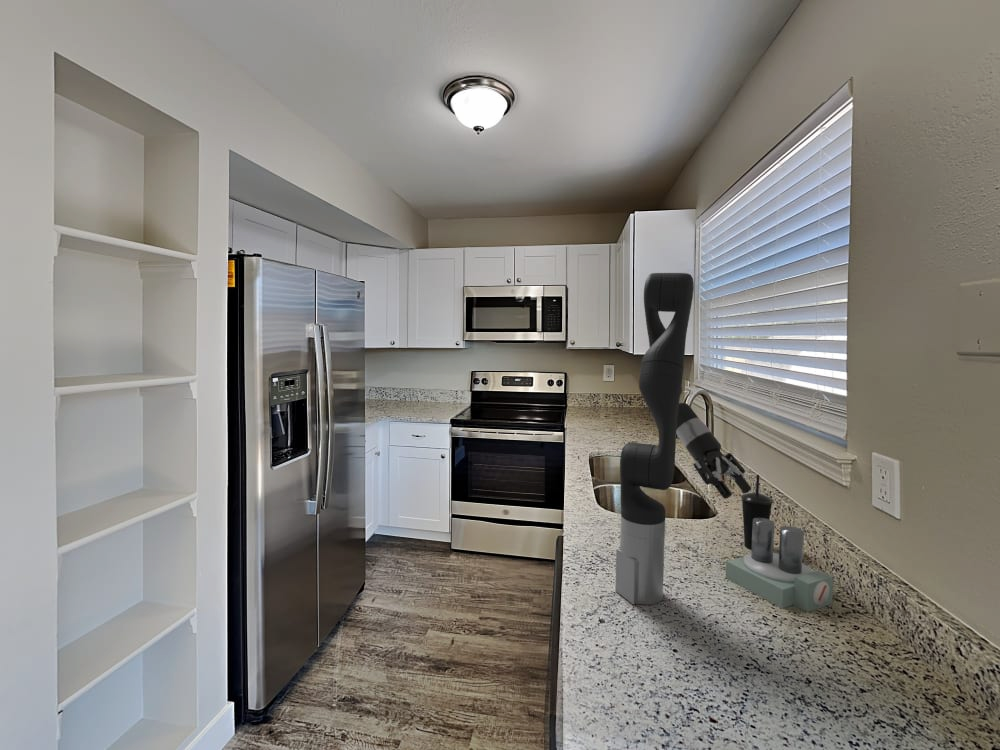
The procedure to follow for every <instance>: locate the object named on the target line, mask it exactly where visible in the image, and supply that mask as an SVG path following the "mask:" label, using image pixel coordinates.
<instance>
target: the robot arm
mask: <svg viewBox="0 0 1000 750" xmlns="http://www.w3.org/2000/svg"><path fill="white" fill-rule="evenodd" d="M694 287H695V284H694V278H693V276H692V275H691V274H690V273H686V272H652V273H650V274H648V276H646V280H645V282H644V287H643V305H644V306H643V307H644V316H645V325H646V330H647V336H648V343H649V345H648V346H649V348H648V349H647V351H646V352H645V353H644V355H643V356H642V358H641V363H640V364H641V365H640V370H639V378H638V389H639V391H640V393H641V395H642V398H643V400H644V402H645V404H646V405H647V407H648V409H649V412H650V413H651V415H652V418H653V420H654V422H655V425H656V428H657V432H658V444H649V443H648V444H647V443H640V442H627V443H625V444H624V446H623V447H622V449H621V451H620V452H621V453H620V458H619V478H620V480H619V481H620V539H619V540H620V542H619V548H617V549H616V552H615V554H616V555H615V557H616V558H615V587H614V589H615V592H616V593H618V595H620V596H622V597H623V598H624V599H625V600H626V601H627V602H629V603H631V604H632V605H648V606H649V605H656V604H658V603H660V602H662V601H663V598H664V573H665V572H664V571H665V566H664V565H665V538H666V537H665V536H666V534H665V533H666V507H665V506H664V505H663V503H661V502H660V501H658V500H657V499H654V498H653V497H651V496H650V495H648V494H646V492H645V491H643V490H642V488H647V489H652V490H660V491H667V490H669V489H670V487H671V486H672V484H673V480H674V475H675V464H676V463H675V462H676V448H677V447H676V446H677V445H676V444H677V443H676V442H677V437H678V439H679V440H680V442H681V443H682V444H683V446H684V447H685V450H686V451H687V452H688V453H689V454H690V456H691V457H692V459H693V460H694V461H695V462H694V463H693V467H694V468H695V470H696V472H697V473H698V474H699V476H700V477H701V479H702V481H703V483H705V485H711V486H712V487H715V489H716V490H717V492H718V493H719V494H720V496H721V497H722V499H725V500H726V499H729V498H730V497H731V496H733V493H732V491H731V490H730V489H729V487H728V486H727V485H726V483H725V482H724V481H723V480H722V475H724V476H725V477H730V478H731V479H732V480H734V482H735V484H736V485H737V486H738V488H739V489H740V490H741V492H742V493H743V494H747V493H750V491H752V487H751V485H750V484H749V483H748V481H746V478H745V477H744V473H746V470H745V469H744V466H742V465H741V464H740V463H739V461H738V460H737V459H736V458H735V456H734V455H733V453H731V452H728V453H726V454H723V453H722V452H721V449H722V444H721V443H720V442H719V440H718V439H717V438H716V436H715V435H714V434H713V433H712V432H711V430H710V429H709V428H708V426H707V425H706V424H705V423H704V422H703V421H702V420H701V419H700V418H699V416H698V415H697V414H696V412H695V411H694V410H693V408H692V407H691V406H690V405H689V404H688V403H686V402H680V399H681V395H682V393H683V376H684V368H685V354H686V353H685V352H686V340H687V333H688V327H689V326H688V325H689V321H690V314H691V311H692V303H693V298H694ZM659 312H663V313H666V312H667V313H668V312H669V313H674V314H673V317H672V319H671V322H669V324H668V325H667V328H666V327H665V326H664V323H662V320H661V317H660V314H659ZM706 475H707V476H706Z"/></svg>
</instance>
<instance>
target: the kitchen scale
mask: <svg viewBox="0 0 1000 750" xmlns="http://www.w3.org/2000/svg"><path fill="white" fill-rule="evenodd" d="M725 578H726V579H728V580H729V581H731V582H732V583H733V582H734V583H735V584H736V585H738V586H740V587H742V588H743V589H745V590H747V591H750V592H752V593H753V594H755V595H757V596H758V597H761V598H762V599H764V600H766V601H768V602H770V603H772V604H773V605H775V606H777V607H779V608H781V609H784V608H787V607H791V606H795V607H796V608H798V609H801V610H803V611H804V612H807V613H810V612H812V611H815V610H819V609H821V608H823V607H827V606H830V605H833V591H834V575H831V574H828V573H826V572H824V571H822V570H819V569H817V570H816V569H813V568H811V567H809V566H808V565H806V564H805V563H803V562H802V573H801V574H790V573H787V572H784V571H782V570H780V569H779V553H777V552H776V551H775V552H774V551H773V562H772V563H761V562H758V561H755V560H753V559H752V558H751V551H750V552H747V553H746V554H745V555H744V556H742V557H738V558H732V559H729V560H726V561H725Z"/></svg>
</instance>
